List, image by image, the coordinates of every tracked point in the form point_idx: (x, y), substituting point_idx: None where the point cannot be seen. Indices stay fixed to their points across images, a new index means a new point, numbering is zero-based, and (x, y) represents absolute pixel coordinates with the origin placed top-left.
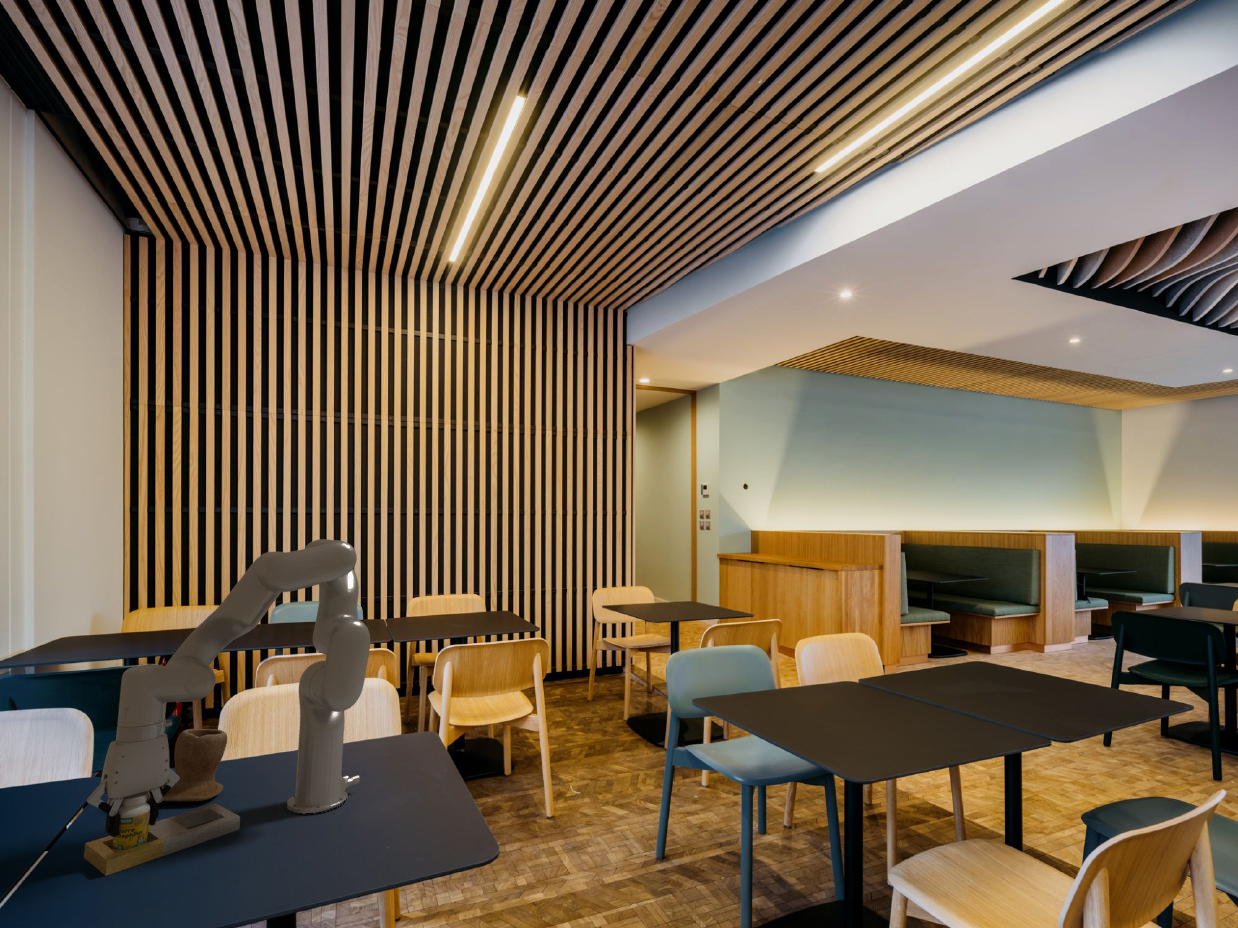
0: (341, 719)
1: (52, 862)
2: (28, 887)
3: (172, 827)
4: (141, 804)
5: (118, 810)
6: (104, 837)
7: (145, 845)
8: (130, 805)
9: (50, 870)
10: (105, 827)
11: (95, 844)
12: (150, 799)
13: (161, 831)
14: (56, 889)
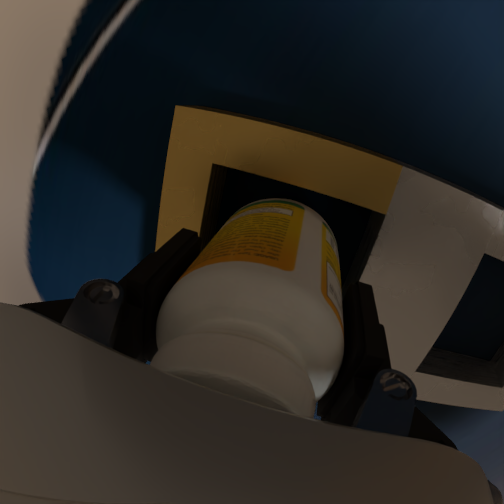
0: None
1: (138, 51)
2: (55, 169)
3: (422, 313)
4: None
5: (163, 320)
6: (247, 120)
7: None
8: None
9: (110, 109)
10: (147, 257)
11: (188, 158)
12: (345, 402)
13: (384, 304)
14: (83, 245)
